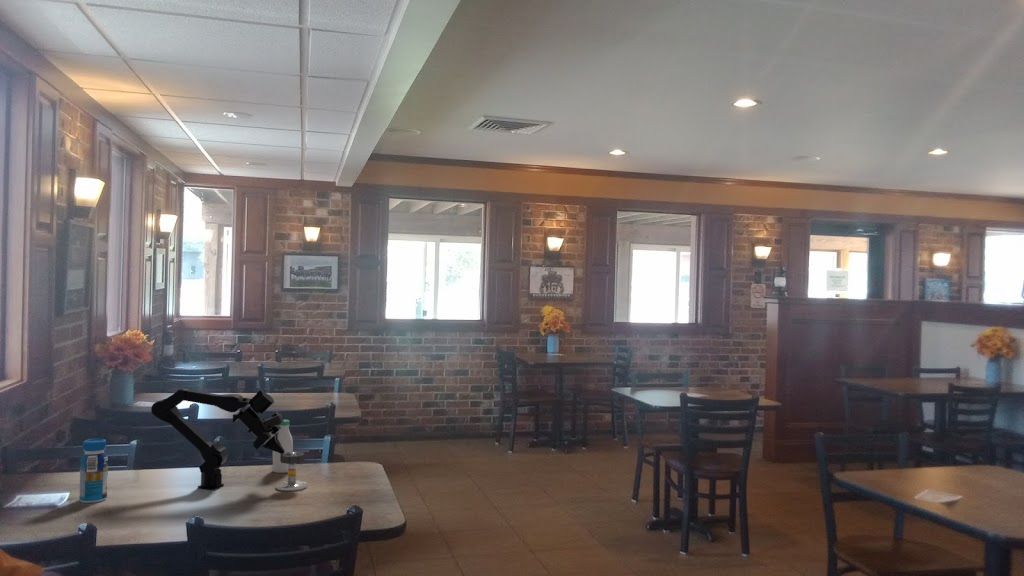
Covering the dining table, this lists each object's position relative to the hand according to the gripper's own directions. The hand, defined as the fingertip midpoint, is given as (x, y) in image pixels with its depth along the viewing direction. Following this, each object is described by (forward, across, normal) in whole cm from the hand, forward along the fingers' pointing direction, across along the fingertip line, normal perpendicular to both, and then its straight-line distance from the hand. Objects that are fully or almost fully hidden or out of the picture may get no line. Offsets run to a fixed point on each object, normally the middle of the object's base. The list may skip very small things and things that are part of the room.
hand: (283, 452), depth 270 cm
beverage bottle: (-32, -16, +50) cm, 62 cm away
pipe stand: (+11, 0, +7) cm, 13 cm away
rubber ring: (+4, 0, 0) cm, 4 cm away
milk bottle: (+5, +24, +13) cm, 28 cm away
